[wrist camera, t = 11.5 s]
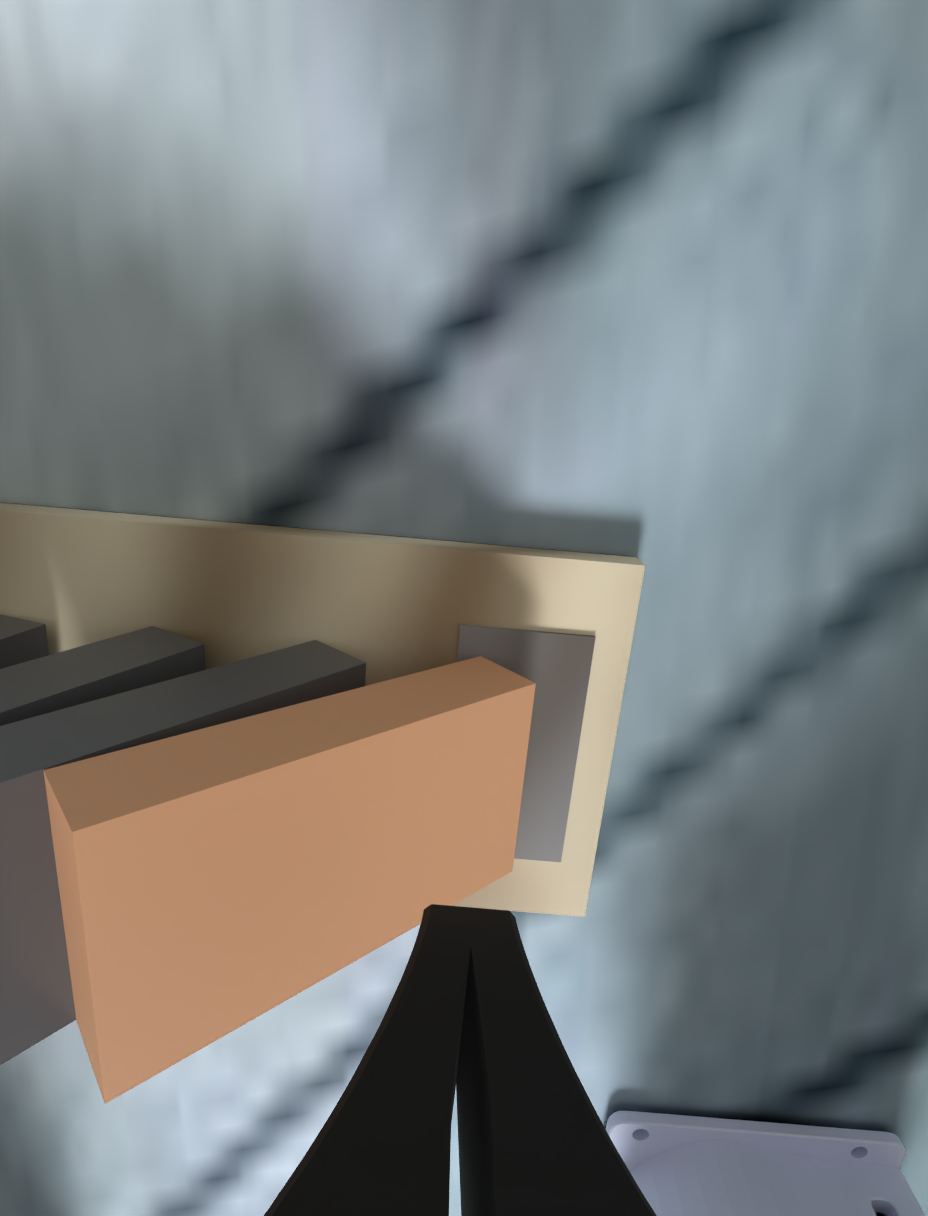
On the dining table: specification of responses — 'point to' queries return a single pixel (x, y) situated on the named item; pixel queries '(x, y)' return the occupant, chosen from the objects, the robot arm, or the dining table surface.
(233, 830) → the domino
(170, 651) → the domino
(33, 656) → the domino
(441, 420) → the dining table surface
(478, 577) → the board
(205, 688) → the domino
